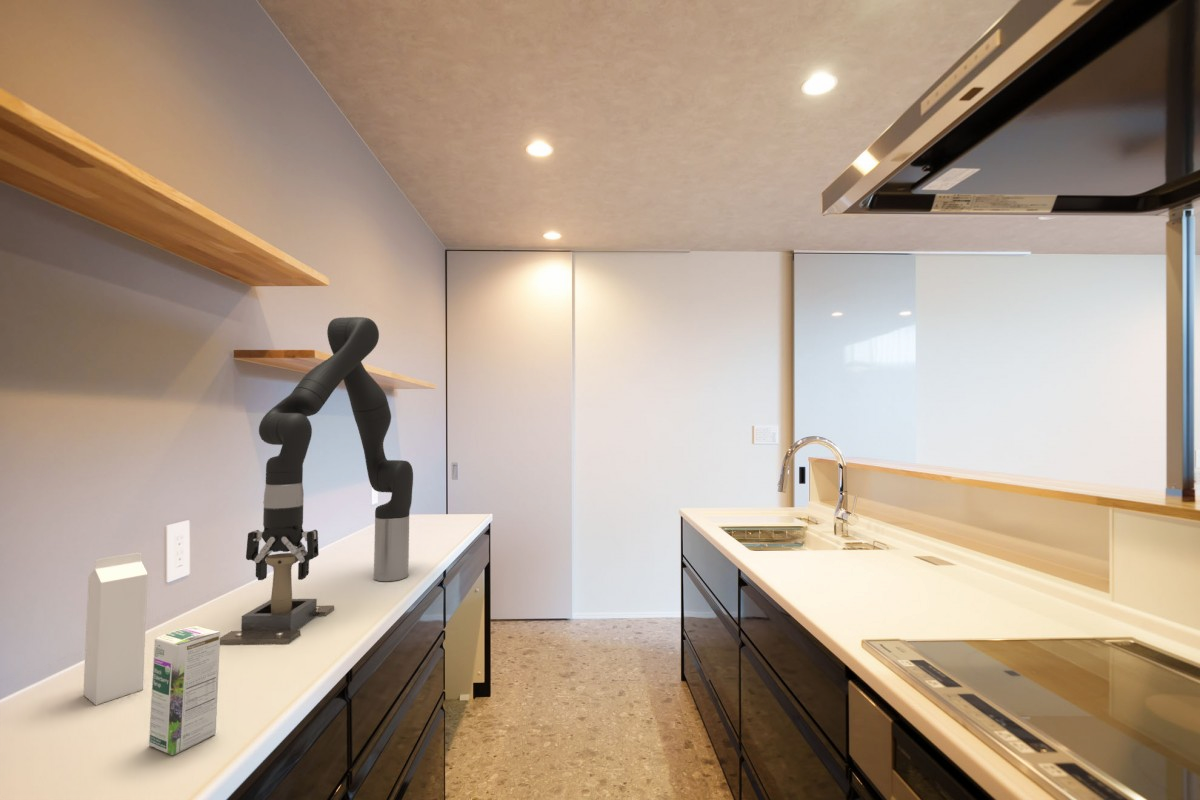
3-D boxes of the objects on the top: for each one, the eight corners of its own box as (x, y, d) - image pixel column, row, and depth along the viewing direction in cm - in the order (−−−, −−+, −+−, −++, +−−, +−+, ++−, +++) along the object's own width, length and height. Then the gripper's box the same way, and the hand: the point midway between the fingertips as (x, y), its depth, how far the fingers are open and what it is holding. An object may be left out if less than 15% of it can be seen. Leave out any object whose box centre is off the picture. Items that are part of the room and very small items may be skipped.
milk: (82, 695, 88) (87, 557, 89) (130, 680, 93) (134, 549, 94) (95, 706, 84) (101, 561, 85) (144, 689, 89) (148, 554, 90)
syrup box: (146, 746, 74) (150, 637, 74) (193, 724, 79) (197, 623, 80) (171, 757, 71) (175, 644, 72) (218, 733, 77) (222, 629, 78)
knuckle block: (273, 610, 128) (274, 592, 128) (334, 609, 128) (334, 592, 128) (216, 644, 108) (217, 624, 108) (288, 644, 108) (289, 623, 108)
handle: (294, 628, 116) (296, 557, 117) (260, 631, 115) (262, 559, 115) (300, 620, 121) (302, 552, 122) (267, 623, 119) (269, 554, 120)
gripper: (325, 501, 123) (323, 574, 122) (260, 501, 123) (258, 574, 122) (308, 506, 116) (306, 584, 115) (239, 507, 115) (237, 584, 114)
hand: (282, 579), depth 118 cm, fingers open, 8 cm apart
